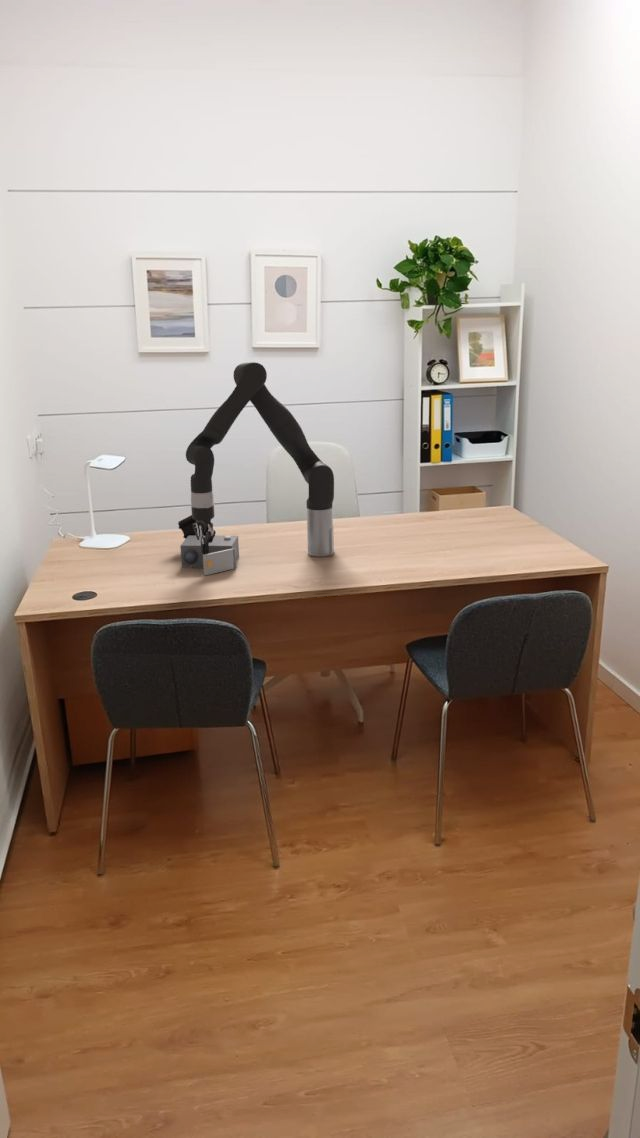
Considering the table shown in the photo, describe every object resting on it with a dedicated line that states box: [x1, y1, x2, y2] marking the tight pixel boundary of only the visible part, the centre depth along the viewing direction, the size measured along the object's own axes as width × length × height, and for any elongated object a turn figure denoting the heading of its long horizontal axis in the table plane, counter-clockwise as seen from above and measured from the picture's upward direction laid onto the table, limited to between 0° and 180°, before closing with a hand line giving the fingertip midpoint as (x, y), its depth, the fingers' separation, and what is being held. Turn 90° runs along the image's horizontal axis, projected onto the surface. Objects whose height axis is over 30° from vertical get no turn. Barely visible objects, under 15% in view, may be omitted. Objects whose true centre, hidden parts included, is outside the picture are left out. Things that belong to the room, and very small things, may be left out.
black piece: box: [177, 514, 214, 540], centre depth 316 cm, size 4×13×15 cm, turn 93°
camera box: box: [180, 535, 240, 569], centre depth 301 cm, size 18×14×9 cm
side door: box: [203, 548, 237, 576], centre depth 291 cm, size 12×2×7 cm, turn 124°
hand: (205, 553), depth 291 cm, fingers closed
